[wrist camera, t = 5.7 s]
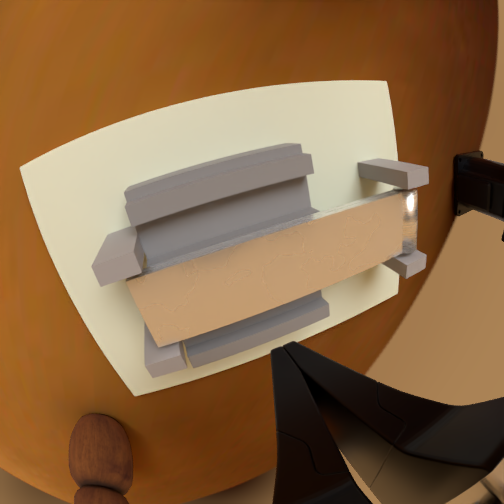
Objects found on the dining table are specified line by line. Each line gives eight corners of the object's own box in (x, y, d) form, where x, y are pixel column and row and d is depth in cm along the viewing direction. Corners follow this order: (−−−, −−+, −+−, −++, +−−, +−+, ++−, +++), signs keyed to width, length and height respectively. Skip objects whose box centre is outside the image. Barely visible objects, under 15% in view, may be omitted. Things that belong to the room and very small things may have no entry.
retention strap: (404, 184, 16) (422, 189, 15) (404, 240, 18) (420, 248, 16) (127, 270, 13) (125, 286, 11) (157, 333, 14) (158, 352, 13)
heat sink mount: (377, 82, 17) (435, 76, 12) (390, 288, 24) (432, 318, 19) (26, 165, 12) (-24, 178, 7) (134, 387, 20) (137, 443, 15)
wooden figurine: (126, 445, 22) (145, 572, 9) (74, 434, 20) (76, 563, 6) (134, 411, 21) (157, 568, 7) (72, 397, 18) (66, 556, 5)
